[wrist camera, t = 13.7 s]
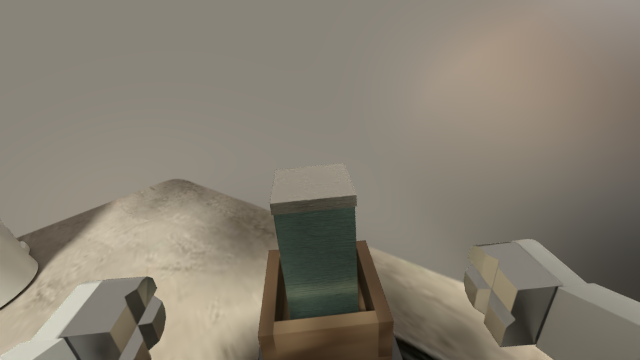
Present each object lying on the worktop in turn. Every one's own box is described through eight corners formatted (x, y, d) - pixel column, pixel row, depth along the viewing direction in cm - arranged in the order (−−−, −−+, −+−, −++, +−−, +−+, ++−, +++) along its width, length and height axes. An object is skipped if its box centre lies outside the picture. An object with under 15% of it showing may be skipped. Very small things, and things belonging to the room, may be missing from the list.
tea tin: (292, 343, 23) (269, 203, 18) (293, 292, 28) (275, 170, 23) (360, 335, 23) (356, 195, 18) (349, 286, 28) (344, 163, 23)
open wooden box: (268, 384, 22) (257, 336, 20) (276, 291, 30) (268, 250, 28) (391, 369, 22) (393, 320, 20) (366, 281, 30) (365, 240, 28)
